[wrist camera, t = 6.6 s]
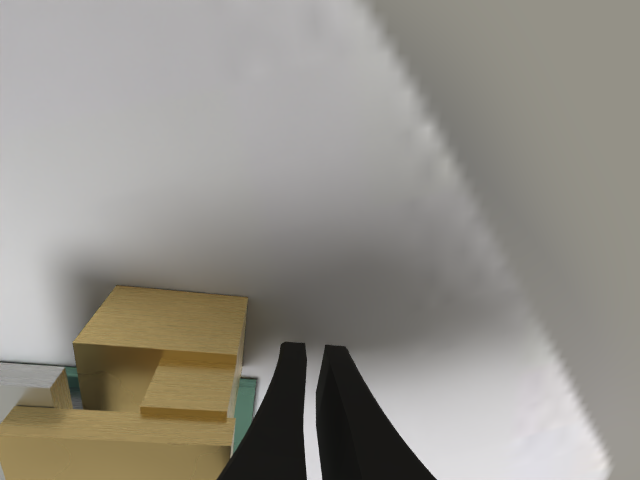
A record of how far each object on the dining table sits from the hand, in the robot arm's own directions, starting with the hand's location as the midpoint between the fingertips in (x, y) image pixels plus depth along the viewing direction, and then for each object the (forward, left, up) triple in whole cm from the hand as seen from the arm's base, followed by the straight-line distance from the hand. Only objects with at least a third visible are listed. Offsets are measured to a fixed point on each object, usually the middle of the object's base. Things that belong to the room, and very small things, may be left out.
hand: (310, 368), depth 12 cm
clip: (0, -4, -1) cm, 4 cm away
